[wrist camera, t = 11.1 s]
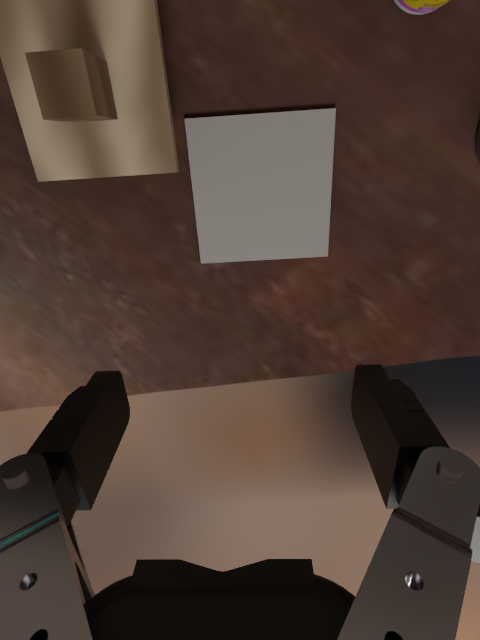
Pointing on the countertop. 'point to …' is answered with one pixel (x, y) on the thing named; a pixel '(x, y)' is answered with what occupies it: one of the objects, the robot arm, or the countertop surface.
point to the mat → (262, 184)
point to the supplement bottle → (419, 5)
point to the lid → (89, 86)
